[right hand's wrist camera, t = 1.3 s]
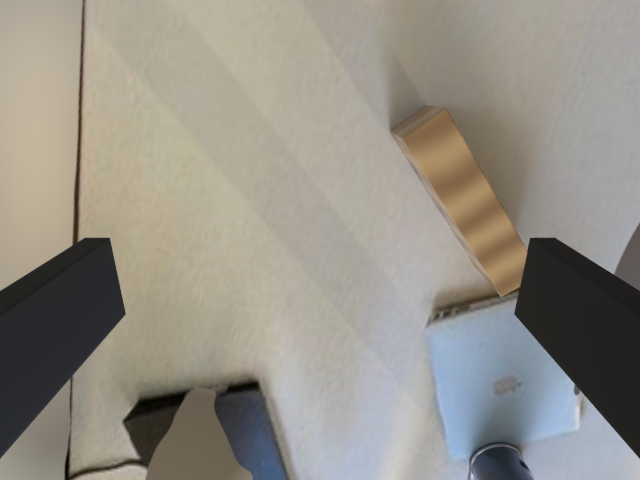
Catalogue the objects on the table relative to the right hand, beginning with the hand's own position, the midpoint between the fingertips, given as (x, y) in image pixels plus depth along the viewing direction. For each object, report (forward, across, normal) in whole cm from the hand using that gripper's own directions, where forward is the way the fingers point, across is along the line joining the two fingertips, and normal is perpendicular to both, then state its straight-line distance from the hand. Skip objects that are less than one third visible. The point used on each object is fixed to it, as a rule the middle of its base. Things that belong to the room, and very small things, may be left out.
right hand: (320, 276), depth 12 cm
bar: (+41, +18, -8) cm, 45 cm away
